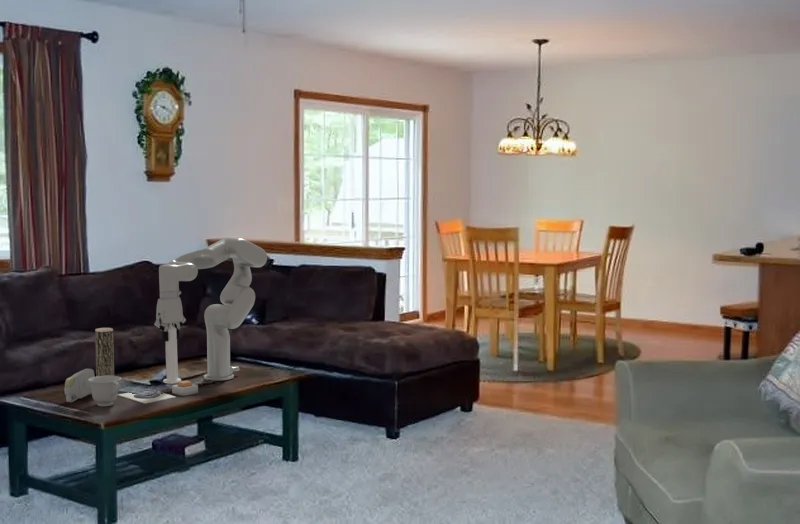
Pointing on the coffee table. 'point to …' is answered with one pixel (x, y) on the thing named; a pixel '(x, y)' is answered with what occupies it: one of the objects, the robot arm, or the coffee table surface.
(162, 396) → the paper sheet
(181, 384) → the button
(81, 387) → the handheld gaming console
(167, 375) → the candle
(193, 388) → the button housing
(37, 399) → the coffee table surface
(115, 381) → the teacup
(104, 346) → the wooden log
